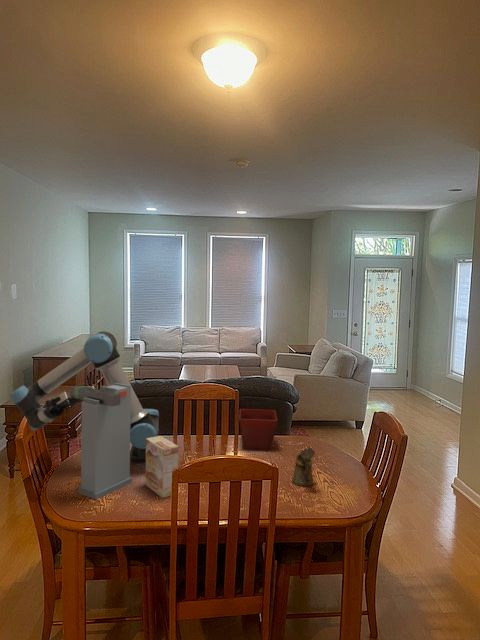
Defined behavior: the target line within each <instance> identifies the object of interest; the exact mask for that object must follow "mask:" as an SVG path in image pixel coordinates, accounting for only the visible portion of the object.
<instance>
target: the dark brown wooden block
mask: <svg viewBox="0 0 480 640" xmlns="http://www.w3.org/2000/svg"><path fill="white" fill-rule="evenodd" d="M85 397H86V398H90V399H95V400H99V401H100V404H103V405H107V406H112V407H113V406H117V405H120V394H117V393H112V392H107V391H102V390H100V389H96V388H95V389H93V388H90V387H88V386H85V385H74V386H71V387H69V398H76V399H81V400H83V398H85Z"/></svg>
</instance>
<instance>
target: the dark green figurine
mask: <svg viewBox="0 0 480 640" xmlns="http://www.w3.org/2000/svg"><path fill="white" fill-rule="evenodd" d="M314 456H315V450H314V449H312V448H309V447H307V448H305V449H303V450H301V451H300V453H299V454H297V455H296V458H295V466H294V471H293V476H292V479H291V482H292V483H293V484H294V485H295V486H298V487H310V486H312V485H313V484H314V478H313V469H312V466H313V461H312V458H313V457H314Z"/></svg>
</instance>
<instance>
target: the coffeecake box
mask: <svg viewBox="0 0 480 640" xmlns="http://www.w3.org/2000/svg"><path fill="white" fill-rule="evenodd" d="M177 467H178V468H179V446H178V445H177V444H175V443H174V442H172V441H170V440H168V439H167V438H165V437H163V436H162V435H158V436H157V437H150V438H146V463H145V479H144V480H145V481H144V483H145V484H144V485H145V486H146V487H148V488H149V489H150V490H152V491H153V492H154V493H155V494H157V495H158V496H159V497H160V498H162V499H163V497H164V498H167V497H171V496H172V495H171V483H172V471H173V469H175V468H177Z"/></svg>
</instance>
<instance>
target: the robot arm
mask: <svg viewBox="0 0 480 640" xmlns="http://www.w3.org/2000/svg"><path fill="white" fill-rule="evenodd" d="M117 342H118V341H117V339H116V338H115V336H114V335H113V334H112V333H111V332H109V331H99V332H97V333H94V334H92V335H91V336H89V337H88V338H87V340H86V341H85V344H84V345H83V348H82V349H80V350H79V351H77V352H76V353H75V354H73V355H72V356H70V357H69V358H68V359H66V360H65V361H64V362H62V363H61V364H59V365H58V366H57V367H55V368H54V369H52V370H51V371H49V372H48V373H46V374H45V375H43V376H42V377H41V378H39V379H38V380H37V381H35V382H33V383H32V384H31V385H29V386H28V387H26V385H21V386H20V387H18V388H16V389H15V390H14V391H12V392H11V393H10V394H9V398H10V401H12V403H13V405H15V406H16V407H17V408H18V410H19V411H20V412H21V414H22V415H23V416H24V417H25V418H26V419H27V421H28V423H29V426H30V428H31V429H32V430H31V431H37V430H39V429H42V428H44V426H46V425H48V424H49V423H50V424H51V423H52V421H54V420H55V419H57V418H59V417H60V416H62V415H63V414H64V411H65V409H67V408H69V407H73V406H75V405H76V404H79V403H80V402H81V403H82V402H83V400H81V399H76V398H72V397H69V396H68V395H67V392H66V391H63V392H62V393H60V394H59V395H57V396H56V397H54V398H52V399H50V400H48V399H47V400H46V401H45V403H44V404H42V405H41V404H40V403H39V401H40V400H42V399H43V398H44V397H46V396H47V395H48V394H49V393H51V392H52V391H54V390H55V389H57V388H58V387H59V386H60V385H62V384H63V383H65V382H67V381H68V380H69V379H71V378H72V377H73V376H75V375H76V374H78V373H80V372H81V371H82V370H83V369H85V368H86V367H88V366H89V365H90V364H93V367H94V369H95V370H98V371H100V372H101V374H102V376H103V378H104V380H105V382H106V384H107V386H112V385H115V383H119V384H124V385H130V386H131V417H130V445H131V446H130V462H134V463H137V464H146V438H150V437H157V436H159V423H160V422H159V419H160V418H159V417H160V413H159V410H158V409H154V408H143V405H142V404H141V402H140V400H139V398H138V396H137V394H136V393H135V391H134V389H133V386H132V385H131V382H130V381H129V379H128V376H127V374H126V373H125V370H124V369H123V367H122V365H121V363H120V360H121V354H120V353H119V350H118V349H117V346H118V345H117V344H118V343H117ZM89 388H93V389H96V388H95V386H94V385H92V386H90V387H89Z"/></svg>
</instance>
